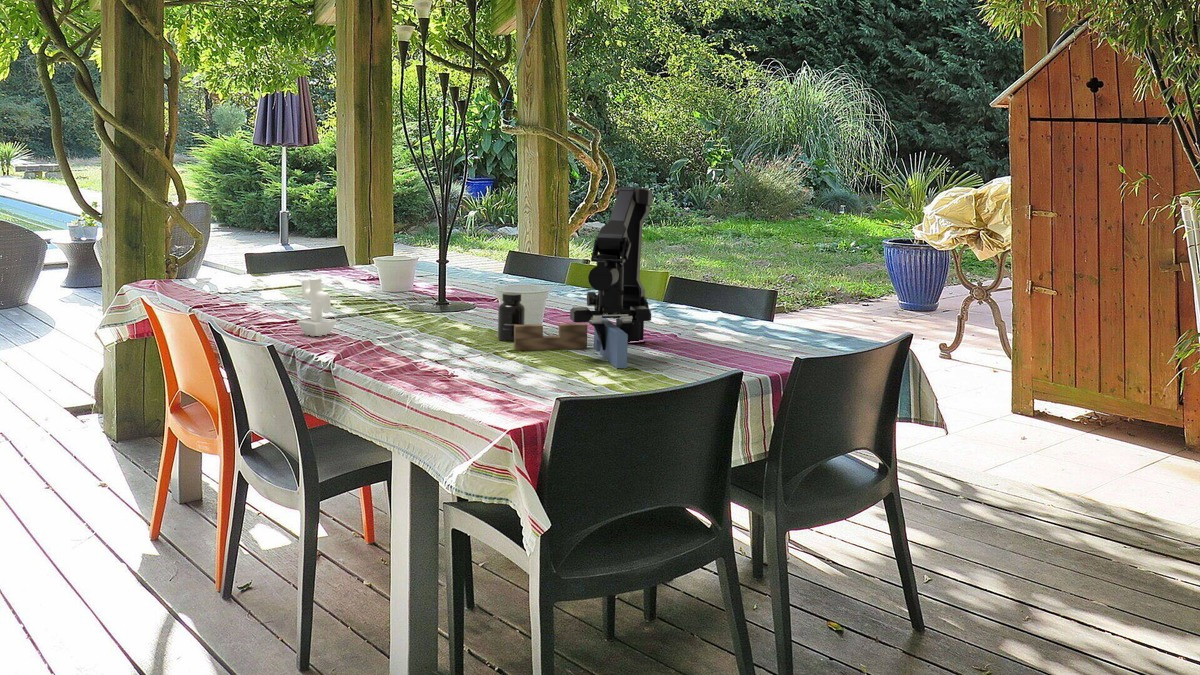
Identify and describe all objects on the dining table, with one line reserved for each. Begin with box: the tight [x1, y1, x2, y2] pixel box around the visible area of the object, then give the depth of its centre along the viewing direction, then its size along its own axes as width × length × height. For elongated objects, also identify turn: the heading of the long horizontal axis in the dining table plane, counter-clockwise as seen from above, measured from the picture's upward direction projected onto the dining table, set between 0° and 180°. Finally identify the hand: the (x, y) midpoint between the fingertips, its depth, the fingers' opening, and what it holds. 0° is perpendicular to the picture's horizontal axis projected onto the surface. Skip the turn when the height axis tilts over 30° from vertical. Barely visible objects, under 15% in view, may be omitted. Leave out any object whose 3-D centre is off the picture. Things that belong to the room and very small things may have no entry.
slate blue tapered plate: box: [593, 318, 629, 369], centre depth 248 cm, size 24×2×8 cm, turn 13°
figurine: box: [296, 276, 338, 337], centre depth 270 cm, size 7×9×15 cm
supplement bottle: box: [497, 292, 526, 343], centre depth 268 cm, size 7×7×12 cm
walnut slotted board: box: [513, 322, 588, 352], centre depth 258 cm, size 18×2×6 cm, turn 103°
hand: (609, 349), depth 249 cm, fingers open, 3 cm apart
